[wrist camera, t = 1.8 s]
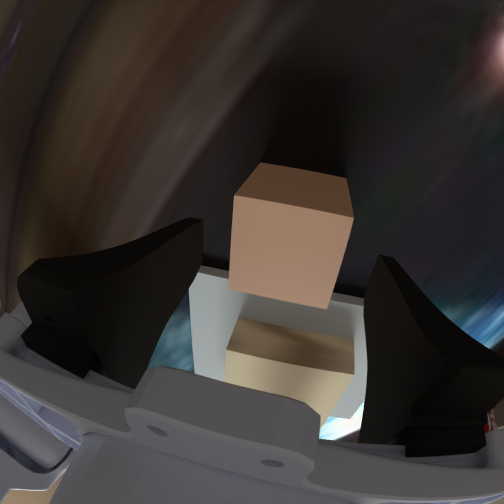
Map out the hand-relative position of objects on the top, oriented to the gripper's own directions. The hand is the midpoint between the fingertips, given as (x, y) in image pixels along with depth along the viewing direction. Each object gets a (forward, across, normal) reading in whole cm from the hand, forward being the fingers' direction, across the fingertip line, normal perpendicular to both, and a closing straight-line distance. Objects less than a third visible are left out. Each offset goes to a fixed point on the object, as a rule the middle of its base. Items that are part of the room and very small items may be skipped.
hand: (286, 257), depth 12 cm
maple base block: (+4, -1, +12) cm, 13 cm away
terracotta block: (+5, 0, 0) cm, 5 cm away
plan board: (+5, -1, +12) cm, 13 cm away
